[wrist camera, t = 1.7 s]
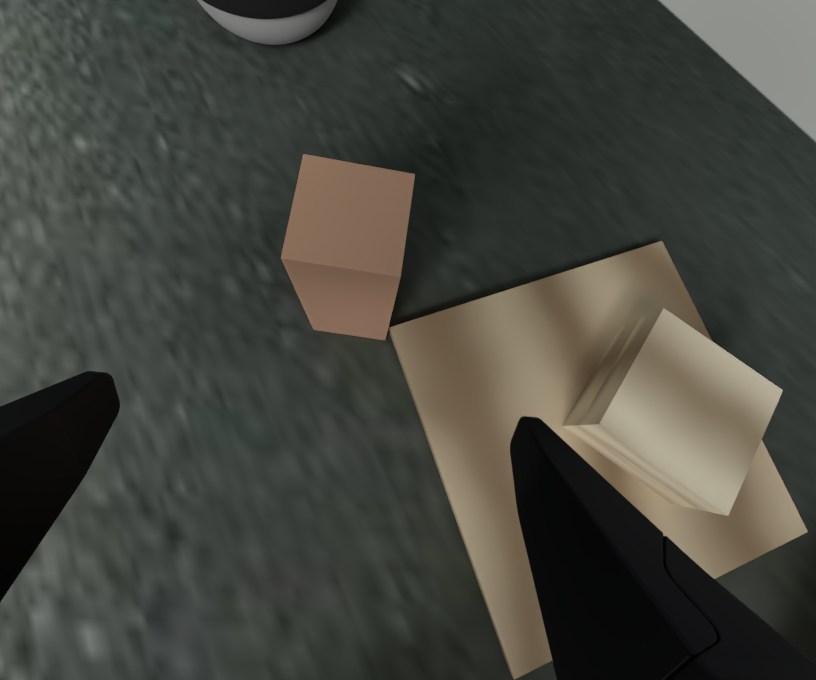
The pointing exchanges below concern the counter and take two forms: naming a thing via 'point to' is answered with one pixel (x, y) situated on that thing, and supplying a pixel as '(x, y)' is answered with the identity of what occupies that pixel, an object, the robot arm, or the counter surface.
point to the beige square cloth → (558, 425)
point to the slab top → (683, 411)
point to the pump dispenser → (270, 18)
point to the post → (347, 244)
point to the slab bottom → (605, 450)
